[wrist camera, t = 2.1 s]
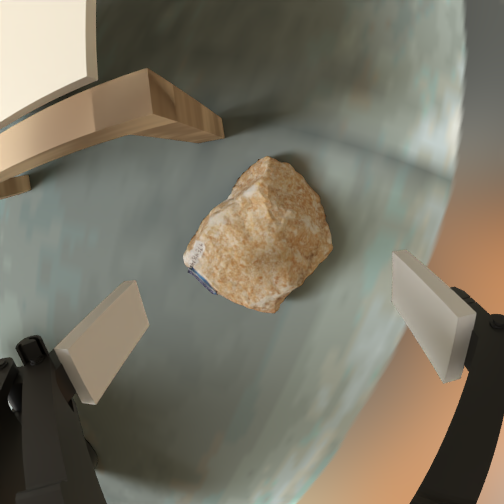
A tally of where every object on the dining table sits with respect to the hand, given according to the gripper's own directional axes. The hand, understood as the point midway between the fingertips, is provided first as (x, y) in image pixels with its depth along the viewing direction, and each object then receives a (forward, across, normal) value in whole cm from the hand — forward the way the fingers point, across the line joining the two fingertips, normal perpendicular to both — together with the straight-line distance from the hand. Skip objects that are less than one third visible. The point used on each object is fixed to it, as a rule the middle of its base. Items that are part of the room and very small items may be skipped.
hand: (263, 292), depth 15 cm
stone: (+9, 0, +1) cm, 9 cm away
